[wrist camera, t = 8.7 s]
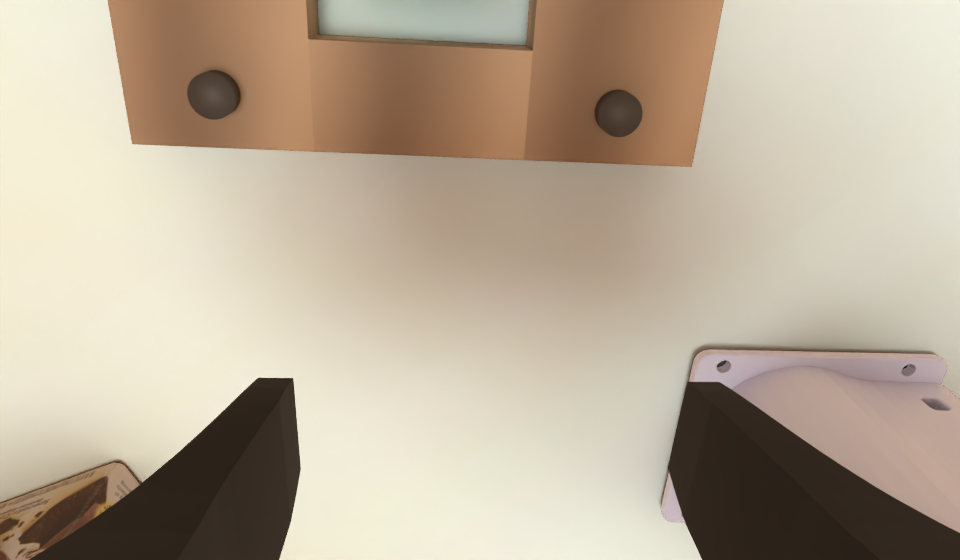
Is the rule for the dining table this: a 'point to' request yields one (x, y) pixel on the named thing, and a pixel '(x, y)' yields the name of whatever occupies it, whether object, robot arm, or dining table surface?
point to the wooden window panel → (420, 82)
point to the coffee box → (59, 510)
